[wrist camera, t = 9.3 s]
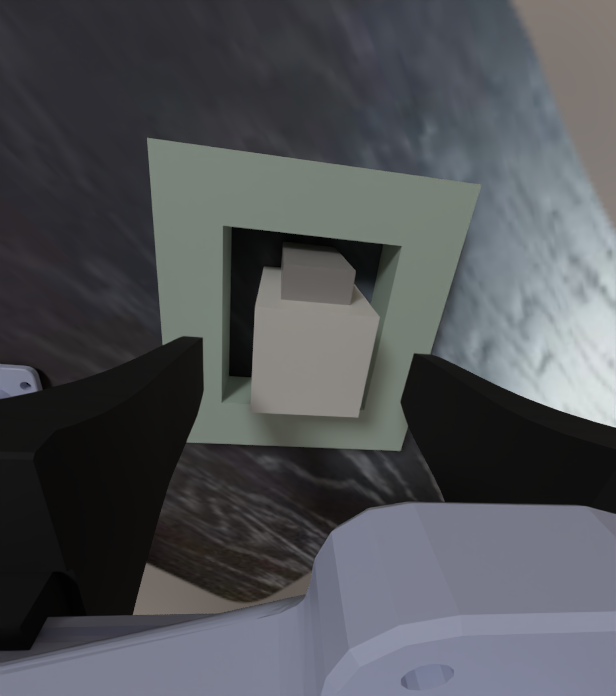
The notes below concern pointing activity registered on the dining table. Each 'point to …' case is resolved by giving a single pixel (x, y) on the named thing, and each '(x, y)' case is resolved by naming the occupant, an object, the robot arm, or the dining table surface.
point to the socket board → (315, 220)
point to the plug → (311, 335)
